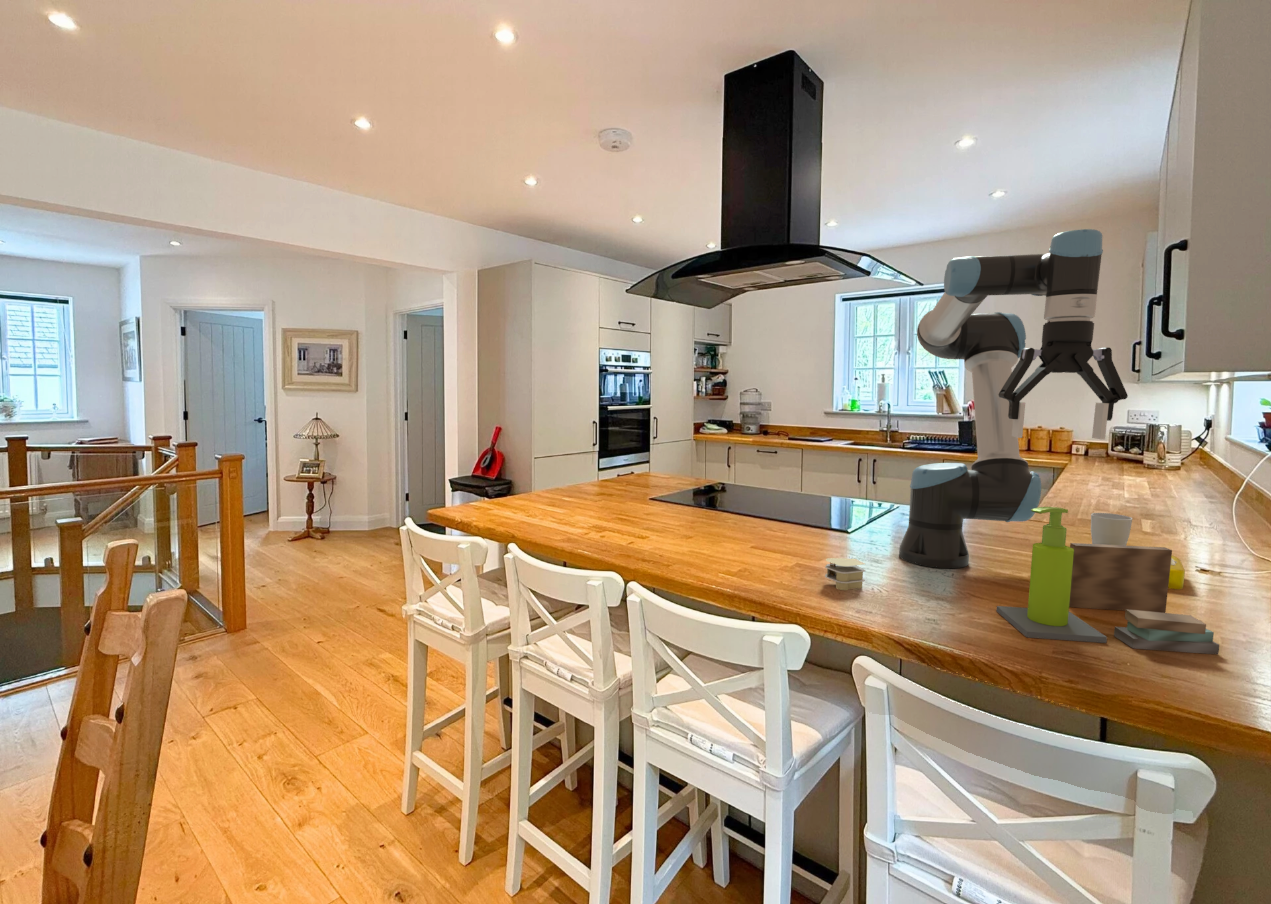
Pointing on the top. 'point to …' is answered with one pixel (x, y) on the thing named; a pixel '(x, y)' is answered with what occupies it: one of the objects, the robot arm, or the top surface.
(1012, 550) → the top surface
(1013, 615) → the slate mat
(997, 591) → the top surface
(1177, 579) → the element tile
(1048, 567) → the soap dispenser
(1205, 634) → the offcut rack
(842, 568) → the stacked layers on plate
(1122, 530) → the cup
